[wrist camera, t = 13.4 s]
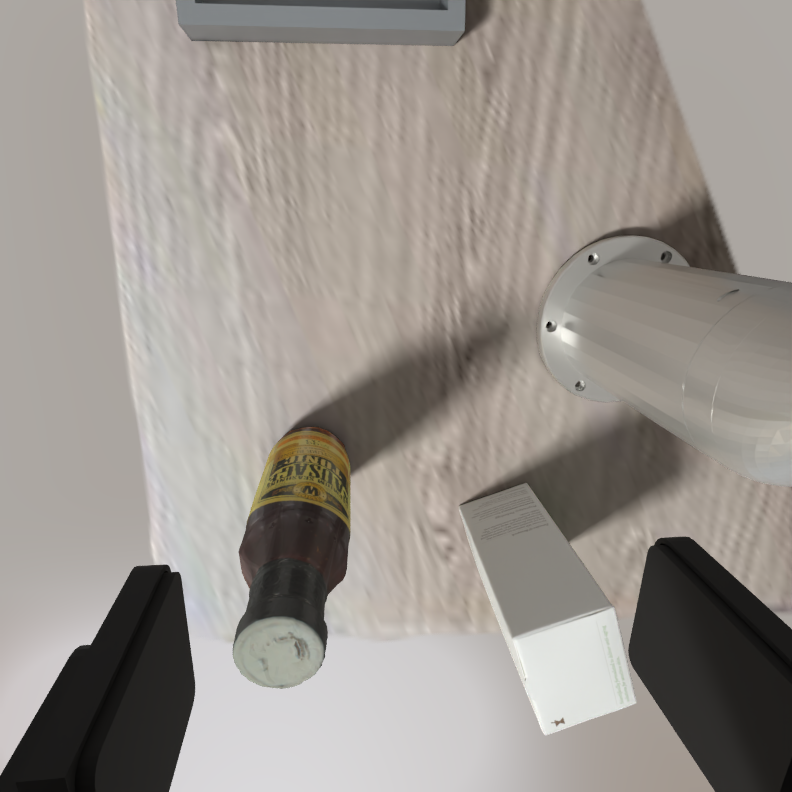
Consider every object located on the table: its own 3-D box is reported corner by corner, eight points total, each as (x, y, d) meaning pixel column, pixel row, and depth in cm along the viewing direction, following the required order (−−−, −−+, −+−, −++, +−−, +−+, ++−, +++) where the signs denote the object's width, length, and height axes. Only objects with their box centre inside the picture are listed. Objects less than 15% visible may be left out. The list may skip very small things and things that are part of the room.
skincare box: (546, 556, 48) (643, 708, 33) (476, 580, 48) (542, 743, 33) (526, 477, 45) (622, 606, 30) (451, 503, 45) (511, 644, 30)
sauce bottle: (358, 432, 42) (384, 612, 23) (336, 501, 44) (343, 720, 25) (275, 411, 40) (231, 584, 22) (255, 483, 42) (199, 700, 24)
